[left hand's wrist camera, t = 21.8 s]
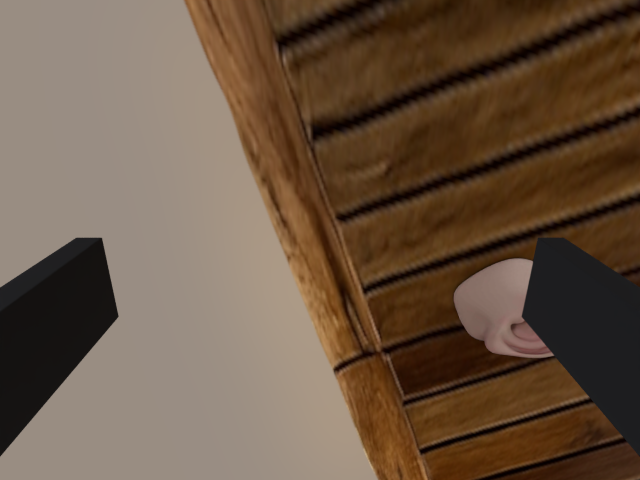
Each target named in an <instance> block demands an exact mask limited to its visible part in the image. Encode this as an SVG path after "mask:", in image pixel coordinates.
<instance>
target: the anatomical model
mask: <svg viewBox="0 0 640 480" xmlns="http://www.w3.org/2000/svg"><path fill="white" fill-rule="evenodd" d="M532 265H533V261H530V260H527V259H520V258H518V259H508V260H505V261H501V262H498V263H496V264H493V265H491V266H489V267H487V268H485V269H483V270H481V271H480V272H478V273H476V274H475V275H473V276H471V277H470V278H468V279H467V280H466V281H464V282H463V283H462V284H461V285H460V286H459V287H458V288H457V289H456V291H455V293H454V303H455V307H456V310H457V313H458V315H459V318H460V320H461V322H462V324H463V325H464V327H465V329H466V330H467V332H468V333H469V334H470V335H471V336H472V337H474V338H476V339H479V340H483V341H485V345H486V347H487V349H488V350H489V351H491V352H493V353H496V354H503V355H511V356H519V357H528V358H542V357H549V356H554V355H553V353H552V352H551V351H550V350H549V349H548V347H547V346H546V345H545V344H544V343H543V342H542V340H541V339H540V338H539V337H538V336H537V334H536V333H535V332H534V331H533V330H532V329H531V327H530V326H529V325H528V324H527V323H526V321H525V320H524V319H523V318H522V312H523V307H524V302H525V298H526V293H527V288H528V283H529V279H530V274H531V269H532Z"/></svg>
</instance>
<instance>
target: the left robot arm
mask: <svg viewBox="0 0 640 480" xmlns="http://www.w3.org/2000/svg"><path fill="white" fill-rule="evenodd" d="M117 318H118V312H117V307H116V302H115V298H114V293H113V288H112V283H111V279H110V274H109V269H108V265H107V260H106V255H105V250H104V246H103V241H102V238H75V239H74V240H72V241H71V242H69V243H68V244H66V245H65V246H63V247H62V248H60V249H59V250H57V251H55V252H54V253H52V254H51V255H49V256H48V257H46V258H45V259H43V260H42V261H40V262H39V263H37V264H36V265H34V266H32V267H31V268H29V269H28V270H26V271H25V272H23V273H22V274H20V275H19V276H17V277H16V278H14V279H13V280H11V281H10V282H8V283H7V284H5V285H3V286H2V287H0V456H1V455H2V454H3V453H4V451H5V450H6V449H7V448H8V447H9V445H10V444H11V443H12V442H13V441H14V440H15V438H16V437H17V436H18V435H19V434H20V432H21V431H22V430H23V429H24V428H25V427H26V425H27V424H28V423H29V422H30V421H31V419H32V418H33V417H34V416H35V415H36V414H37V412H38V411H39V410H40V409H41V408H42V407H43V405H44V404H45V403H46V402H47V400H48V399H49V398H50V397H51V396H52V395H53V393H54V392H55V391H56V390H57V389H58V388H59V386H60V385H61V384H62V383H63V382H64V381H65V379H66V378H67V377H68V376H69V375H70V373H71V372H72V371H73V370H74V369H75V368H76V366H77V365H78V364H79V363H80V362H81V360H82V359H83V358H84V357H85V356H86V354H87V353H88V352H89V351H90V350H91V349H92V347H93V346H94V345H95V344H96V343H97V341H98V340H99V339H100V338H101V337H102V336H103V334H104V333H105V332H106V331H107V330H108V328H109V327H110V326H111V325H112V324H113V323H114V321H115V320H116V319H117ZM522 318H523V319H524V320H525V321H526V323H527V324H528V325H529V326H530V327H531V329H532V330H533V331H534V332H535V333H536V334H537V336H538V337H539V338H540V339H541V340H542V342H543V343H544V344H545V345H546V346H547V347H548V349H549V350H550V351H551V352H552V353H553V355H554V356H555V357H556V358H557V359H558V360H559V362H560V363H561V364H562V365H563V366H564V368H565V369H566V370H567V371H568V372H569V373H570V375H571V376H572V377H573V378H574V379H575V381H576V382H577V383H578V384H579V385H580V386H581V388H582V389H583V390H584V391H585V392H586V394H587V395H588V396H589V397H590V398H591V399H592V401H593V402H594V403H595V404H596V405H597V407H598V408H599V409H600V410H601V411H602V412H603V414H604V415H605V416H606V417H607V418H608V420H609V421H610V422H611V423H612V424H613V425H614V427H615V428H616V429H617V430H618V431H619V432H620V434H621V435H622V436H623V437H624V438H625V440H626V441H627V442H628V443H629V444H630V445H631V447H632V448H633V449H634V450H635V451H636V453H637V454H638V455H639V456H640V287H638V286H637V285H635V284H634V283H632V282H630V281H629V280H627V279H626V278H624V277H623V276H621V275H620V274H618V273H617V272H615V271H614V270H612V269H611V268H609V267H608V266H606V265H604V264H603V263H601V262H600V261H598V260H597V259H595V258H594V257H592V256H591V255H589V254H588V253H586V252H585V251H583V250H582V249H580V248H578V247H577V246H575V245H574V244H572V243H571V242H569V241H568V240H566V239H565V238H538V241H537V246H536V250H535V255H534V260H533V265H532V269H531V274H530V279H529V283H528V288H527V293H526V298H525V302H524V307H523V312H522Z"/></svg>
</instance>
